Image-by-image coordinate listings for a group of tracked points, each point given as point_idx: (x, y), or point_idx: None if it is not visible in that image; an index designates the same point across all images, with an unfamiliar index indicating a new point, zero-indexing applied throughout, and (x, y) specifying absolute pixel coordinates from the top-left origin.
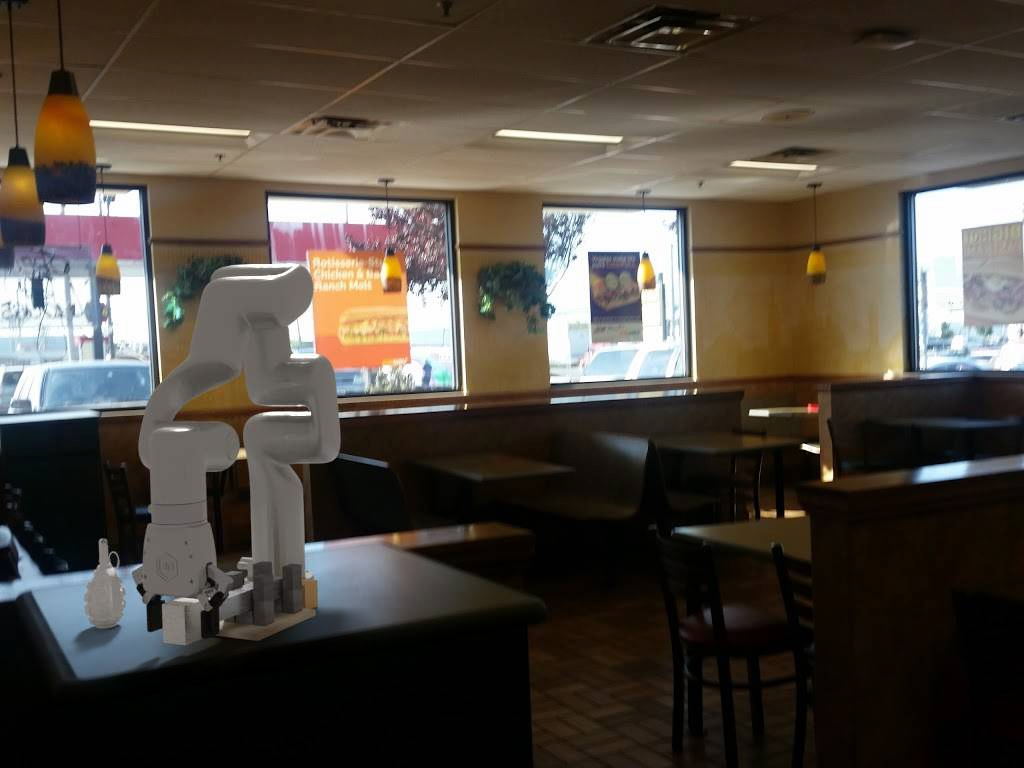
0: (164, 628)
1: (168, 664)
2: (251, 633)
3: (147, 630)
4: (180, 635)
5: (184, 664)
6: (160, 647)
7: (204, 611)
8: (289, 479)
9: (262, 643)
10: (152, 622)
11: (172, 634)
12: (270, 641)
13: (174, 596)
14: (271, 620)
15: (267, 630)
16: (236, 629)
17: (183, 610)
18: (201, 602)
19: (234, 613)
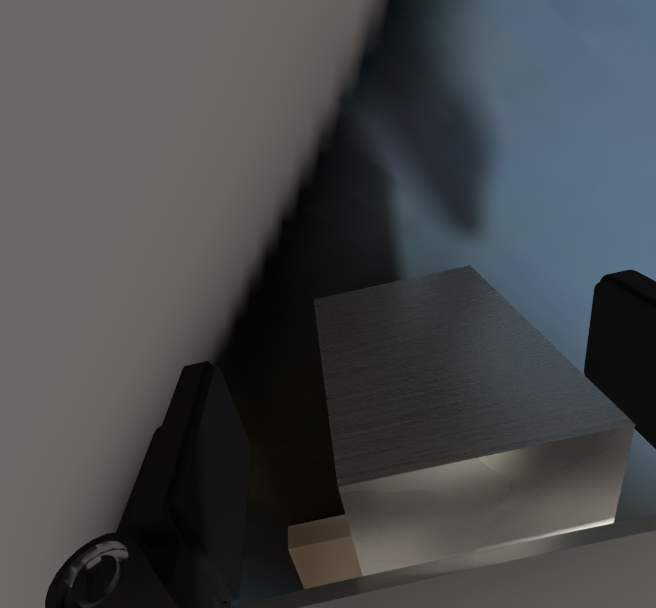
0: (494, 305)
1: (344, 190)
2: (317, 542)
3: (630, 270)
4: (353, 317)
5: (276, 233)
6: (568, 319)
7: (136, 520)
8: None
9: (252, 520)
10: (637, 314)
11: (417, 304)
12: (249, 540)
13: (468, 555)
14: None
15: (300, 578)
16: None
17: (346, 451)
18: (147, 604)
19: None
